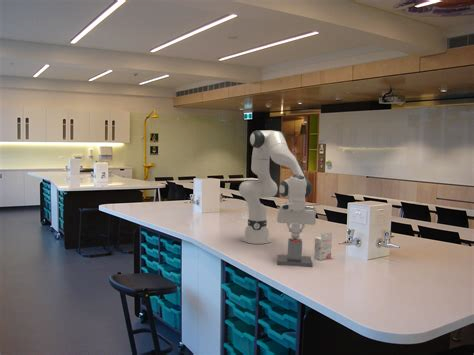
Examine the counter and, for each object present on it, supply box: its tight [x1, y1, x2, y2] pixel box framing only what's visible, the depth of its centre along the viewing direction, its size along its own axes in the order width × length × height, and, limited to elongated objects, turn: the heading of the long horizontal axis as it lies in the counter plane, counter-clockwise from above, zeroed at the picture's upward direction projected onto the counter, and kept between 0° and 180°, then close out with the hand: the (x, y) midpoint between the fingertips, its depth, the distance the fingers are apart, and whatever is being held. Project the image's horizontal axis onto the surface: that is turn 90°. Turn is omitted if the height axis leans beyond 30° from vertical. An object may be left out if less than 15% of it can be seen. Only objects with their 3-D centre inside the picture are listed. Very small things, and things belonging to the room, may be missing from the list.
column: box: [290, 224, 301, 241], centre depth 225 cm, size 4×4×18 cm
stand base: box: [276, 237, 313, 268], centre depth 225 cm, size 13×18×13 cm
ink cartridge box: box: [313, 231, 333, 261], centre depth 235 cm, size 9×5×15 cm, turn 123°
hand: (295, 231), depth 224 cm, fingers closed on column, 4 cm apart
